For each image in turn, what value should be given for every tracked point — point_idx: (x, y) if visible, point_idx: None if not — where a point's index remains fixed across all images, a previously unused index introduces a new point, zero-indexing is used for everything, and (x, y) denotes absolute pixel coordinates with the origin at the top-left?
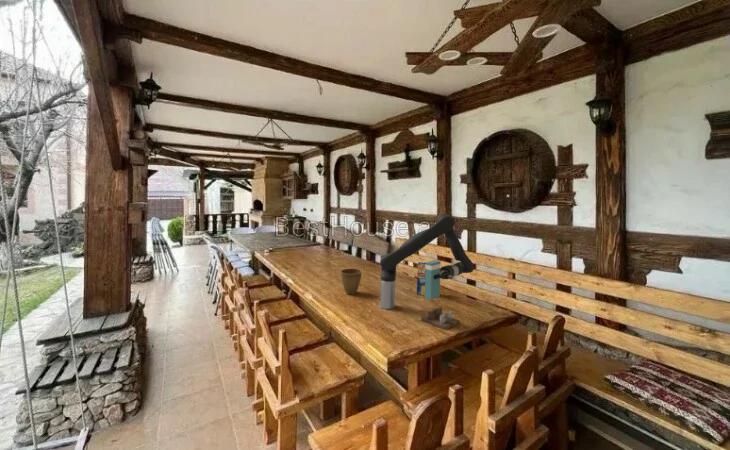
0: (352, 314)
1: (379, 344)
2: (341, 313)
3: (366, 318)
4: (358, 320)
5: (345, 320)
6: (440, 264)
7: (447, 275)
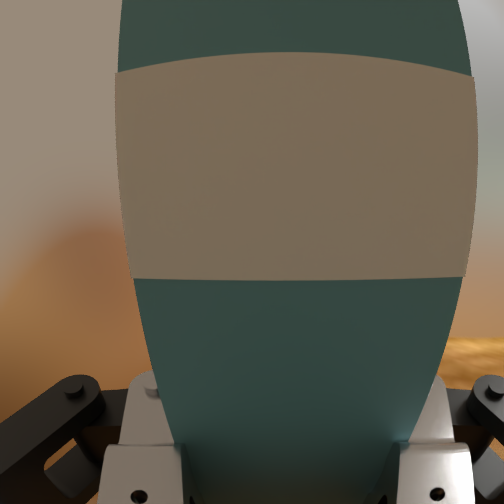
0: (488, 362)
1: None
2: (498, 345)
3: (450, 380)
4: (441, 359)
5: (450, 338)
6: (116, 109)
7: (1, 447)
